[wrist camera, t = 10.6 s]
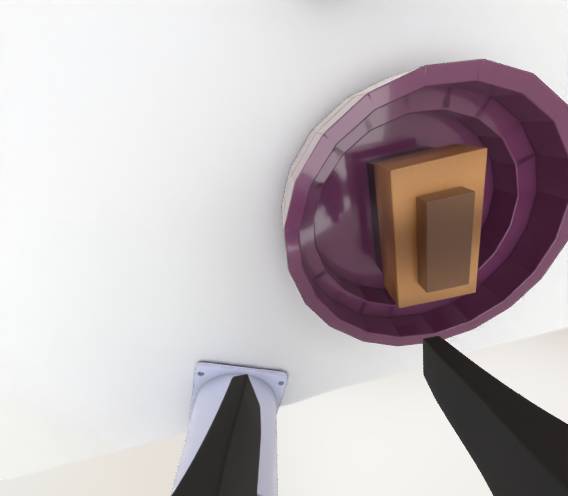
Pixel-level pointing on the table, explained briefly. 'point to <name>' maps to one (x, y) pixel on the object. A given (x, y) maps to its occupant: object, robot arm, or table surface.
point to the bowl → (415, 135)
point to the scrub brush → (428, 221)
